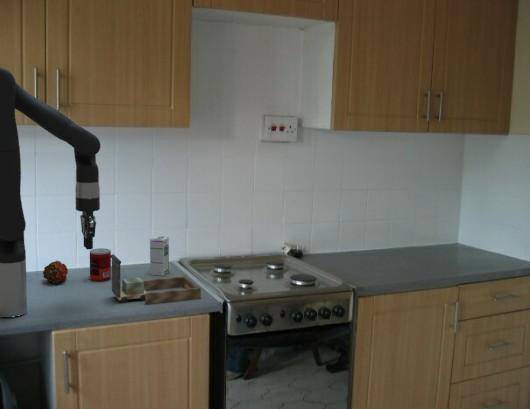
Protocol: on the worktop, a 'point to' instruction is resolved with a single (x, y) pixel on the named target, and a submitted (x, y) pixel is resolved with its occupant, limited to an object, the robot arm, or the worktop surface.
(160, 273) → the syrup box
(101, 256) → the canned food
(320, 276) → the worktop surface
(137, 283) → the grey l-shaped piece
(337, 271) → the worktop surface
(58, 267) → the dragon fruit
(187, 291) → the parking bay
